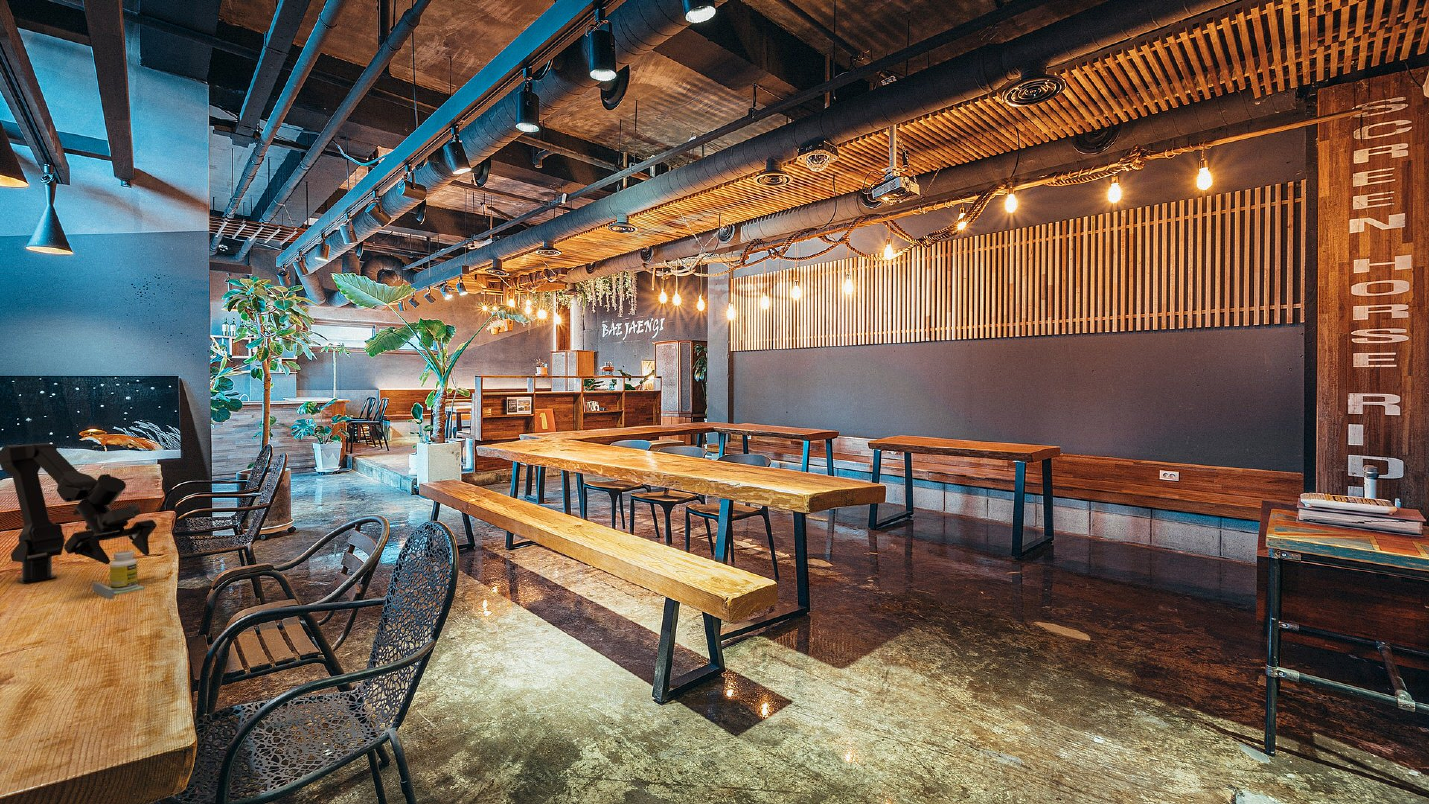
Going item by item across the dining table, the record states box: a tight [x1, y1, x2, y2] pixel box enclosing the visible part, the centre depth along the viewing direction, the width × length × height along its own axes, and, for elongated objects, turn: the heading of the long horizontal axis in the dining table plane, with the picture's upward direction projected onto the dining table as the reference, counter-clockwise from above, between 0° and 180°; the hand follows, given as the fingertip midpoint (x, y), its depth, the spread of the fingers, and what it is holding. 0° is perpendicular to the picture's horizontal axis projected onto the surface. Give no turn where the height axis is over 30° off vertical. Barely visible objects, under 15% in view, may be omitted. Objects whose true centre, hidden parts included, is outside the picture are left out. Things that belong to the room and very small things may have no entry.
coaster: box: [114, 584, 145, 595], centre depth 169 cm, size 7×6×1 cm
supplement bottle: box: [109, 550, 138, 591], centre depth 169 cm, size 5×5×10 cm
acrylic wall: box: [92, 581, 115, 600], centre depth 164 cm, size 12×1×2 cm, turn 60°
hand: (128, 558), depth 168 cm, fingers open, 9 cm apart
